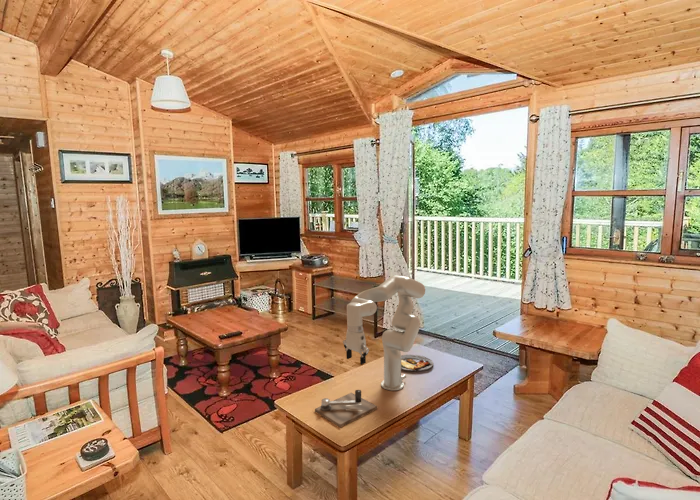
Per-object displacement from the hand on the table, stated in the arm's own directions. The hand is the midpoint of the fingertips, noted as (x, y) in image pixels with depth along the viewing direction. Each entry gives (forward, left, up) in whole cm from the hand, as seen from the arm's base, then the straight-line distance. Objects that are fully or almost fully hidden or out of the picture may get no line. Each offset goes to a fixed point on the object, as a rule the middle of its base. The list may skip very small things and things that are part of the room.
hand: (356, 360), depth 201 cm
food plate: (-59, -12, -24) cm, 65 cm away
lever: (+9, -1, -21) cm, 22 cm away
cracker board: (+7, 0, -23) cm, 24 cm away
